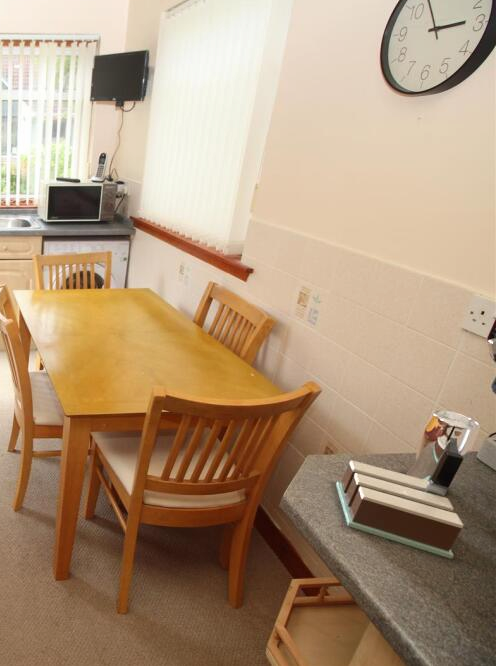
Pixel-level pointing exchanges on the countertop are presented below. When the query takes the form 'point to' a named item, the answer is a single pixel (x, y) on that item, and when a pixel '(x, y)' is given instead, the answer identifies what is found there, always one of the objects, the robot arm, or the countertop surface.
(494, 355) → the robot arm
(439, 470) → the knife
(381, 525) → the slatted panel
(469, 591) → the countertop surface
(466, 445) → the beer glass
